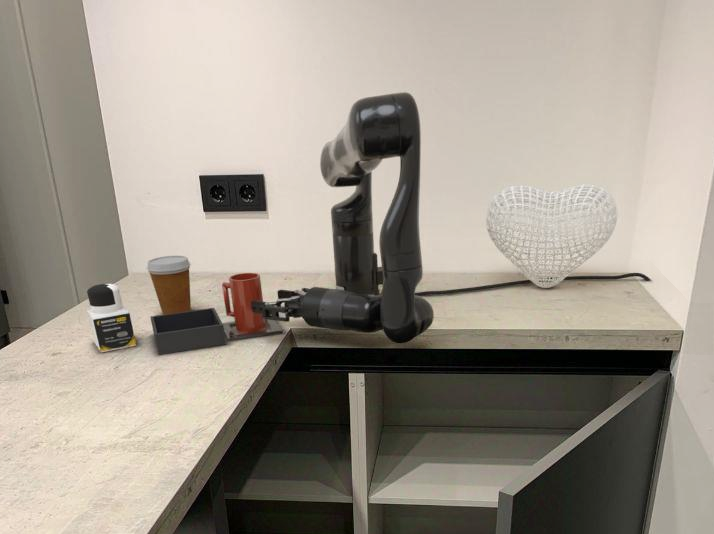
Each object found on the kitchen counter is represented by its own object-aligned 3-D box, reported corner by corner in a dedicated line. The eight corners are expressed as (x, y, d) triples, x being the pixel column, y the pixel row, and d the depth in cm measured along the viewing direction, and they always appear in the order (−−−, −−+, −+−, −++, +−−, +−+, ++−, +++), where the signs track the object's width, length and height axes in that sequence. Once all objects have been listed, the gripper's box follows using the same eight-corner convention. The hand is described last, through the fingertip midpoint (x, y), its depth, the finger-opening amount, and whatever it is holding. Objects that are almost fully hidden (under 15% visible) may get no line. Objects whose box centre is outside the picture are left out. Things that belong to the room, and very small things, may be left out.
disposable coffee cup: (188, 320, 162) (178, 264, 156) (148, 319, 164) (137, 265, 158) (204, 307, 170) (196, 254, 164) (166, 307, 172) (157, 255, 166)
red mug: (272, 327, 154) (265, 274, 149) (253, 335, 150) (246, 281, 144) (238, 321, 159) (231, 270, 153) (218, 330, 154) (210, 277, 149)
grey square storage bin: (217, 326, 157) (214, 307, 155) (226, 344, 145) (223, 324, 143) (154, 335, 153) (150, 316, 151) (158, 354, 142) (154, 334, 140)
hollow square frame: (271, 318, 159) (271, 316, 159) (282, 333, 150) (282, 330, 150) (221, 326, 157) (220, 323, 156) (229, 341, 147) (228, 338, 147)
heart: (610, 280, 171) (621, 178, 160) (608, 299, 158) (620, 189, 148) (490, 277, 179) (493, 180, 169) (478, 294, 167) (481, 191, 156)
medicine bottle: (100, 353, 145) (86, 292, 139) (94, 343, 151) (80, 285, 145) (136, 346, 148) (124, 286, 142) (129, 336, 154) (116, 279, 148)
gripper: (351, 280, 143) (285, 273, 151) (308, 299, 133) (240, 290, 141) (353, 318, 147) (288, 309, 155) (312, 339, 137) (245, 328, 144)
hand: (265, 300), depth 148 cm, fingers open, 8 cm apart
